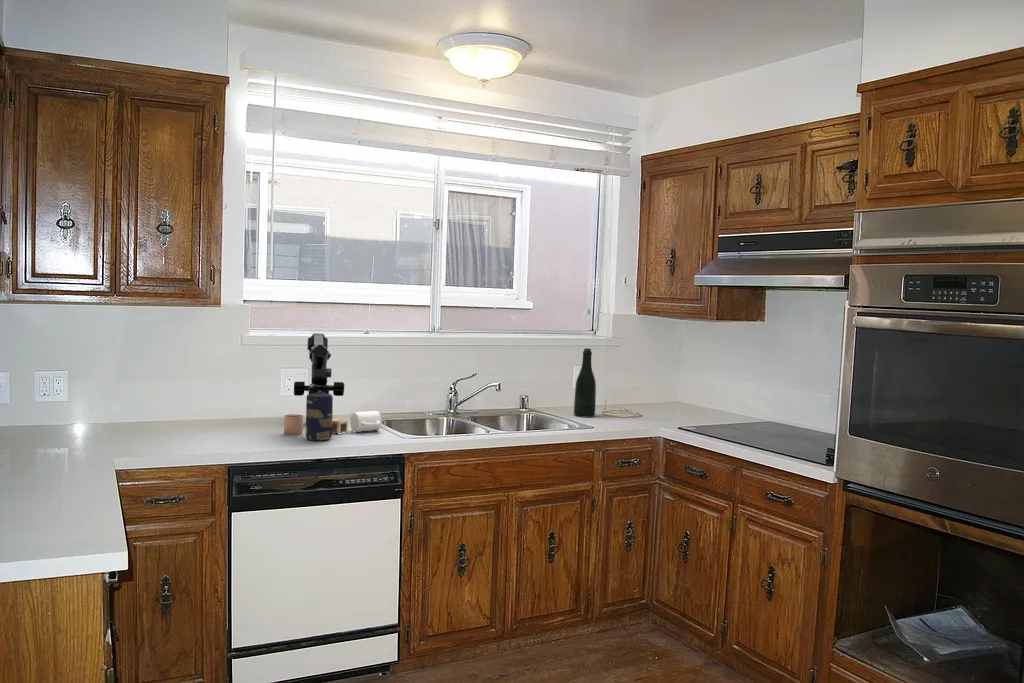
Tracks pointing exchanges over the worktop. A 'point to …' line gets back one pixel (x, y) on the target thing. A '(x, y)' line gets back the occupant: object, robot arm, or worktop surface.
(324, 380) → the robot arm
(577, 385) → the beer bottle
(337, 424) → the letter cube
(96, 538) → the worktop surface
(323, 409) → the canister
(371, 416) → the mug
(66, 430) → the worktop surface
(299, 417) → the cup
